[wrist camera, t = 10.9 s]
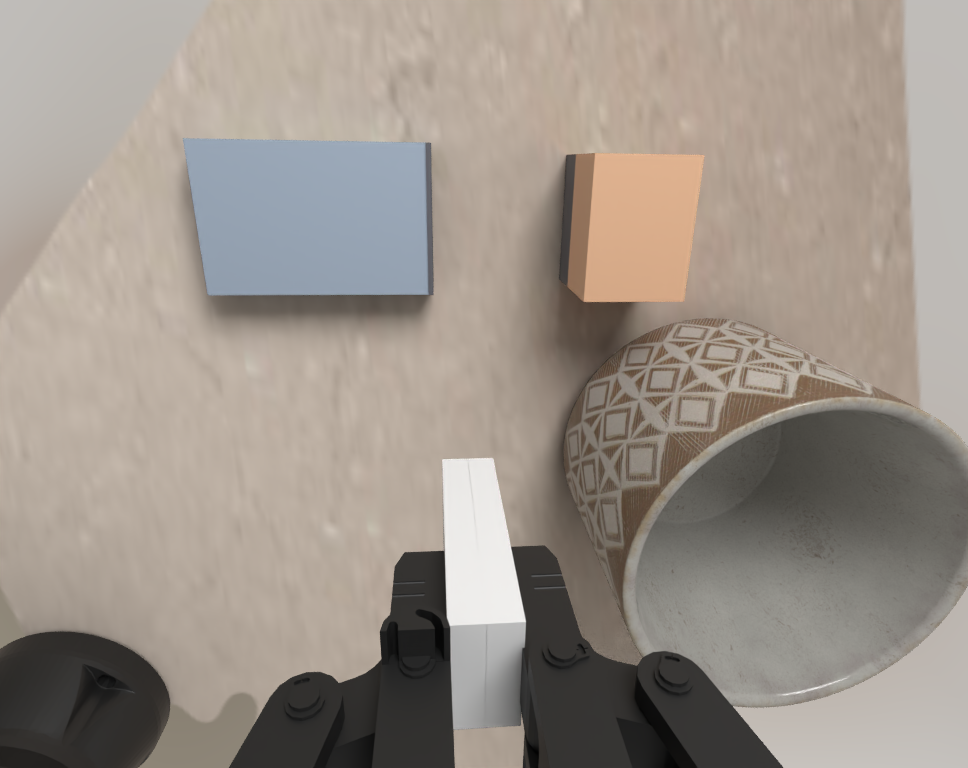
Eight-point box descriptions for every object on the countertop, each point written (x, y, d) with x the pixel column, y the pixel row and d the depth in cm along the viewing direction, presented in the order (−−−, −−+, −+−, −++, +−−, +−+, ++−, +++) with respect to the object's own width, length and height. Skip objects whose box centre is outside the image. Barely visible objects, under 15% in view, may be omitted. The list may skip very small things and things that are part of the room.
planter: (578, 558, 49) (645, 740, 33) (537, 346, 42) (598, 452, 26) (802, 506, 49) (971, 664, 33) (798, 284, 42) (1011, 355, 26)
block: (559, 279, 40) (583, 301, 33) (566, 154, 37) (595, 153, 31) (643, 279, 40) (684, 301, 34) (657, 156, 38) (704, 155, 31)
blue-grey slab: (221, 287, 38) (207, 295, 36) (199, 140, 35) (182, 138, 33) (433, 286, 39) (433, 294, 37) (430, 144, 36) (430, 142, 34)
